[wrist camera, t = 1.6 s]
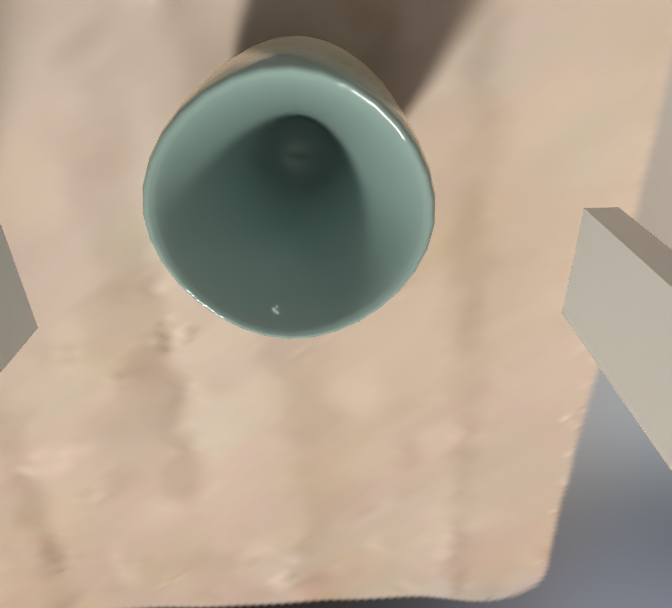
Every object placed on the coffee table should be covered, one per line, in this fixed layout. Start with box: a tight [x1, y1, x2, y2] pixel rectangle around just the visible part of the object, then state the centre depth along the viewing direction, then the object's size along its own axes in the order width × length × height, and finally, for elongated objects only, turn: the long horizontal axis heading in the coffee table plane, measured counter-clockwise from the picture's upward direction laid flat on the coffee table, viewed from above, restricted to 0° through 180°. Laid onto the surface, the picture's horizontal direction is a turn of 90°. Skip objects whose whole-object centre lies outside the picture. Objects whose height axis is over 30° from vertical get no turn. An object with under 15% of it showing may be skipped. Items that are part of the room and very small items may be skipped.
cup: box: [143, 35, 435, 339], centre depth 19 cm, size 8×8×10 cm
